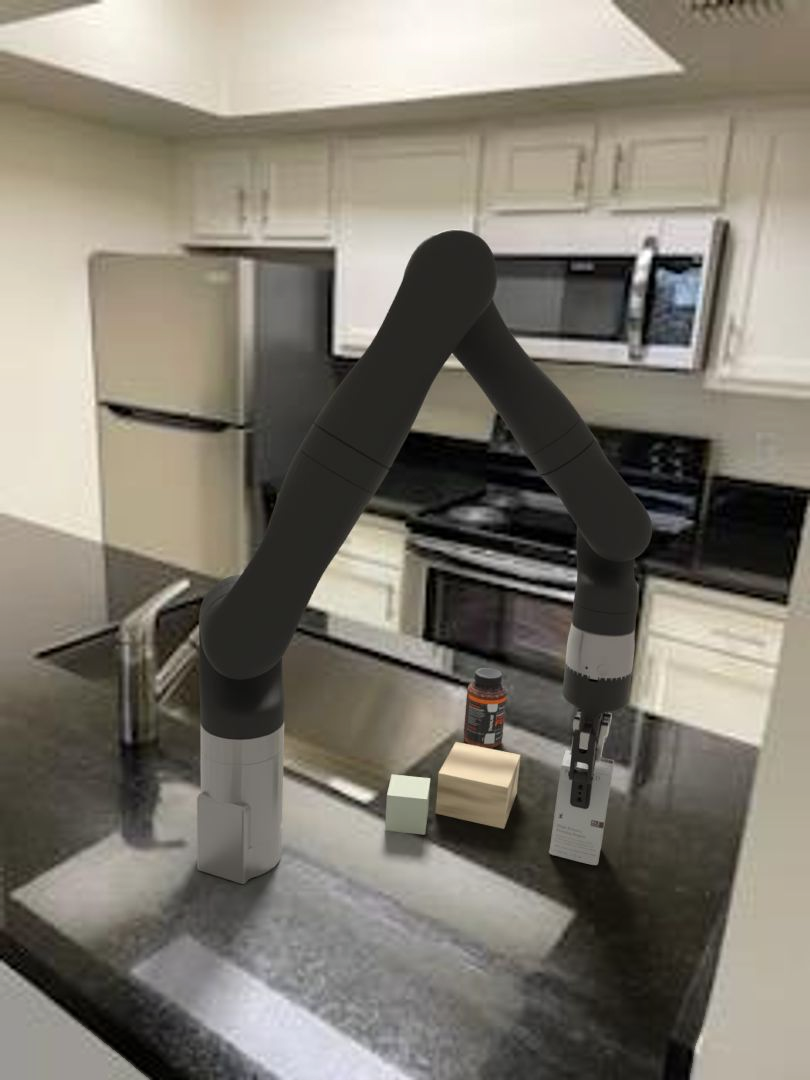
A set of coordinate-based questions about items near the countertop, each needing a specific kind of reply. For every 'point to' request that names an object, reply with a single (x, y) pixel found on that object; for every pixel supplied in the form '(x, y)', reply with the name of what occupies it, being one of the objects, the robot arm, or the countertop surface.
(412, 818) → the sage block
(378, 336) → the robot arm
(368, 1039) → the countertop surface
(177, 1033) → the countertop surface
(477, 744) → the supplement bottle
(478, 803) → the maple block
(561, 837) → the skincare box
